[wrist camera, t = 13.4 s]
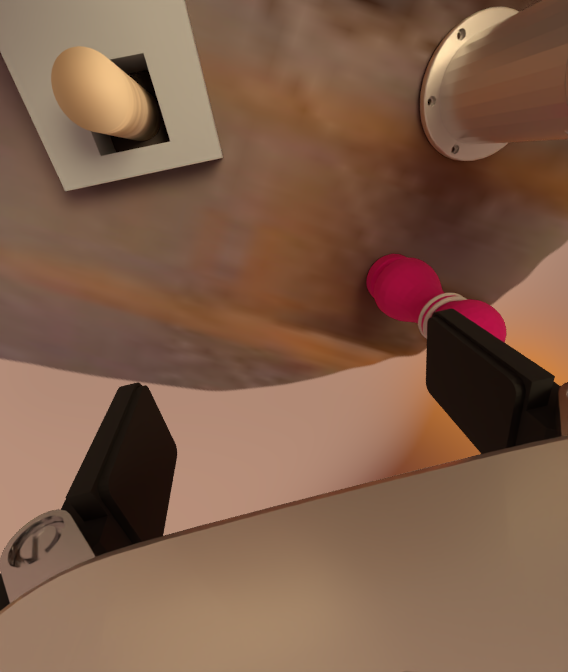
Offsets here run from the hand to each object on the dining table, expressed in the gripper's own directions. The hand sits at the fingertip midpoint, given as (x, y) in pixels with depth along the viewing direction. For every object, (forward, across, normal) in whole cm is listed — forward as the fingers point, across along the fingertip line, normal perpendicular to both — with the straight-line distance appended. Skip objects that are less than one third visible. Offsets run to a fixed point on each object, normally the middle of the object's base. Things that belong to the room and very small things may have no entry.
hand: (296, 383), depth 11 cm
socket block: (+30, +8, -15) cm, 35 cm away
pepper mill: (+31, -16, +10) cm, 36 cm away
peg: (+30, +8, -12) cm, 34 cm away
